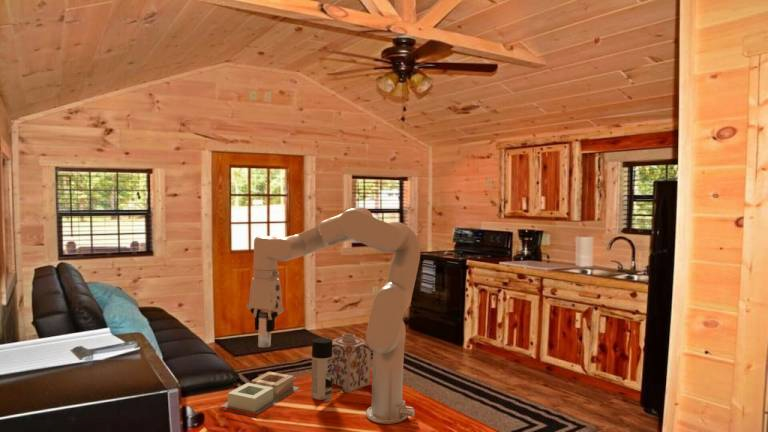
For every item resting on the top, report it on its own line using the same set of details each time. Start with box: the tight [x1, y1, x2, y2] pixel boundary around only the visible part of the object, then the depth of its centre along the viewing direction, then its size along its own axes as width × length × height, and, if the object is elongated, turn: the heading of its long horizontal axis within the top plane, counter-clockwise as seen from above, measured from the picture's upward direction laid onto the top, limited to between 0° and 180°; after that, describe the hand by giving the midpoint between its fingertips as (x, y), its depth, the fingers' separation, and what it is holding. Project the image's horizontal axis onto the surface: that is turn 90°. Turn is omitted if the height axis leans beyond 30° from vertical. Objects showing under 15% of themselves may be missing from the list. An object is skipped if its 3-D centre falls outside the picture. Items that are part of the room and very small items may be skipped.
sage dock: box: [227, 382, 273, 412], centre depth 170 cm, size 10×10×4 cm
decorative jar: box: [332, 333, 372, 394], centre depth 192 cm, size 12×12×18 cm
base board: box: [219, 385, 300, 420], centre depth 176 cm, size 14×24×2 cm, turn 158°
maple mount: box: [250, 371, 294, 398], centre depth 181 cm, size 10×10×4 cm
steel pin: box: [257, 310, 272, 348], centre depth 176 cm, size 4×4×11 cm
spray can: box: [311, 337, 333, 404], centre depth 178 cm, size 7×7×20 cm
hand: (264, 329), depth 176 cm, fingers closed on steel pin, 4 cm apart
